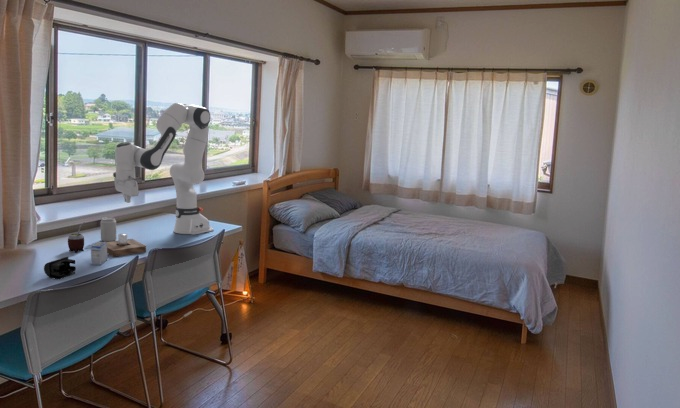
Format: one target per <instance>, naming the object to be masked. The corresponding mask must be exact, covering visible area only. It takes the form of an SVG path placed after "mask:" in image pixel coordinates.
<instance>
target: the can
mask: <svg viewBox="0 0 680 408" xmlns="http://www.w3.org/2000/svg"><path fill="white" fill-rule="evenodd" d="M99 225H100V240H101V242H112V241H117V239H118V236H117V220H116V219H115V217H112V216H109V217H107V216H105V217H102V218H101V220H100V224H99Z"/></svg>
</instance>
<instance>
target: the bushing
mask: <svg viewBox="0 0 680 408" xmlns="http://www.w3.org/2000/svg"><path fill="white" fill-rule="evenodd" d="M117 239H118V240H117V241H118V242H119V247H120V246H127V239H128V234H127V233H119V234H118V236H117Z"/></svg>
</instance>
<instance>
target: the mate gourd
mask: <svg viewBox="0 0 680 408" xmlns="http://www.w3.org/2000/svg"><path fill="white" fill-rule="evenodd" d="M85 223H86V222H82V223H81V224H80V225H79V227H78V230H77V233H71V234H70V235H69V236H68V238H67V245H68V249H69V250H68V252H74V253H76V254H77V253H78V252H83V251H84V247H85V237H84V235H83V234H82V233H80V230H81V228H82V226H83V225H84V224H85Z"/></svg>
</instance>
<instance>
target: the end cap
mask: <svg viewBox="0 0 680 408" xmlns="http://www.w3.org/2000/svg"><path fill="white" fill-rule="evenodd" d="M72 264H73V265H72ZM74 265H76V260H75V259H71V258H70V259H69V256H64V257H62V258H58V259H55V260H51V261H49V262H47V263H45V264H44V266H43V271H44V274H45V275H46V276H47V277H49V278H50V279H52V278H55V279H54V280H58V279H59V280H62V279H65V278H68V277H70V276H72V275H75V274H76V272H75V271H76V266H74ZM64 277H65V278H64ZM61 278H62V279H61Z"/></svg>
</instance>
